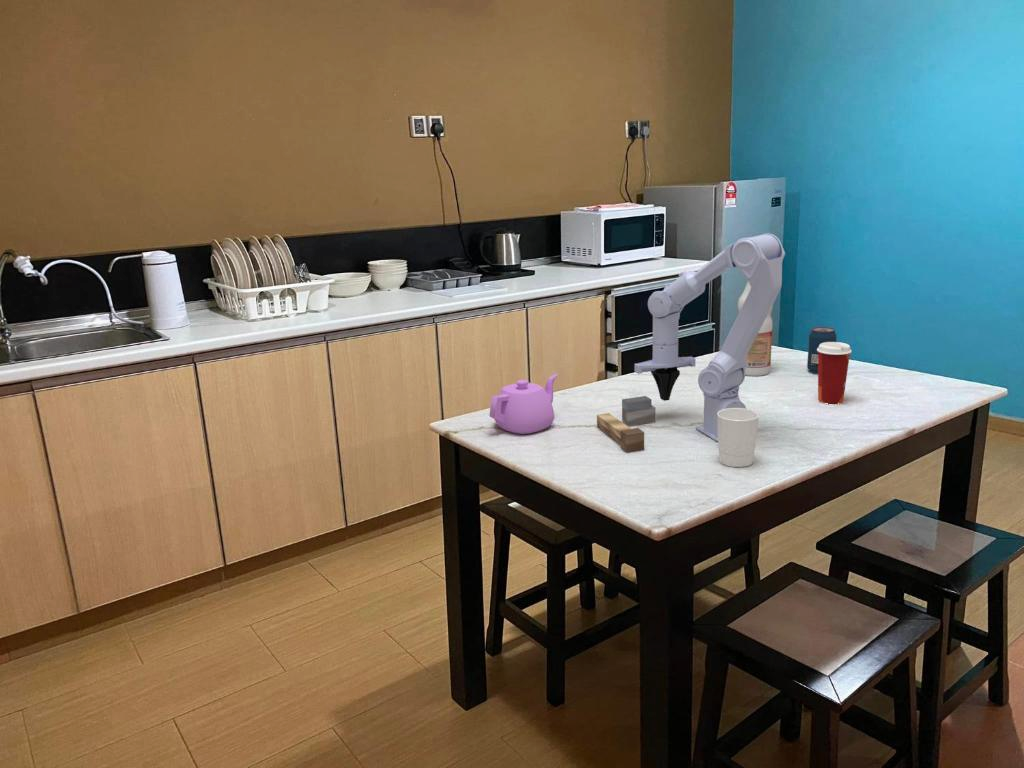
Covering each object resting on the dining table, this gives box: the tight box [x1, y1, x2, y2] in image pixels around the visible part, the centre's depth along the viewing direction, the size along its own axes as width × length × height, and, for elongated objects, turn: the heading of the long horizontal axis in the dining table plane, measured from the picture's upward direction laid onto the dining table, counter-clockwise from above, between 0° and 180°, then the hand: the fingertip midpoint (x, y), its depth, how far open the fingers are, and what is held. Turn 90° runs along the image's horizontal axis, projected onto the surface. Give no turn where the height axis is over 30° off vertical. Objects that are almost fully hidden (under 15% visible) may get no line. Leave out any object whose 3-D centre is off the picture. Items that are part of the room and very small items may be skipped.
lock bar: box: [621, 395, 653, 411], centre depth 181 cm, size 3×6×2 cm, turn 107°
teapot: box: [488, 373, 559, 435], centre depth 183 cm, size 13×20×11 cm
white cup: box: [717, 408, 760, 468], centre depth 157 cm, size 8×8×10 cm
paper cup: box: [817, 341, 853, 405], centre depth 189 cm, size 8×8×14 cm
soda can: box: [806, 326, 837, 375], centre depth 213 cm, size 7×7×12 cm
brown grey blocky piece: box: [596, 404, 656, 454], centre depth 175 cm, size 18×14×4 cm
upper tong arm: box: [596, 412, 632, 439], centre depth 174 cm, size 14×3×2 cm, turn 17°
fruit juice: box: [737, 280, 774, 377], centre depth 214 cm, size 9×9×28 cm
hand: (664, 399), depth 183 cm, fingers closed
